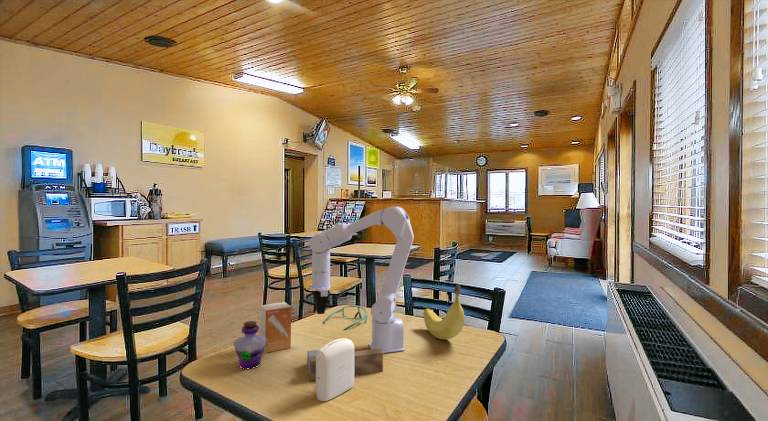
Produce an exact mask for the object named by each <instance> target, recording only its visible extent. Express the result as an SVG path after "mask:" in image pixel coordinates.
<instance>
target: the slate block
mask: <svg viewBox="0 0 768 421" xmlns="http://www.w3.org/2000/svg"><path fill="white" fill-rule="evenodd" d="M318 350H319V349H315V350H314V349H311V350H307V359H306V360H307V368H308V372H309V373H310V357H311V356H316V353H317V351H318Z"/></svg>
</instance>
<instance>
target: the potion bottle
mask: <svg viewBox="0 0 768 421" xmlns="http://www.w3.org/2000/svg"><path fill="white" fill-rule="evenodd" d="M258 332H260V325H257V321H256V320H249V321H245V322H243V326H242V327H241V333H242V334H244V336H241V337H238V338H237V339H236V340H234V341H233V345H234V350H235V354H236V355H237V358H238V363H239V366H241V367H242V368H241V369H242V370H252V368H253V367H256V366H258V365H259V364H260V363H261V362H262V357H263V352H264V351H263V350H264V348H265V343H266V339H267V338H265V337H263V336H261V335H260V334H257V333H258ZM260 365H261V364H260ZM260 365H259V366H260ZM243 368H244V369H243ZM247 368H249V369H247ZM256 368H257V367H256ZM253 369H254V368H253Z"/></svg>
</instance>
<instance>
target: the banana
mask: <svg viewBox="0 0 768 421" xmlns="http://www.w3.org/2000/svg"><path fill="white" fill-rule="evenodd" d="M453 292H454V294H455V297H454V301H453V303H452V304H451V305H450V307H449V308H448V309H447V311H446V314H445V315H444V317H443V318H441V317H440V316H439V315H437V314H436V313H435V312H434V311H433V310H432V309H430V308H425V309H424V311H423V315H422V316H423V320H424V324H425V327H426V329H427V330H428V332H429V333H430V334H431V335H432V336H433V337H434V338H436V339H439V340H451V339H454V338H455V337H457V336H458V335H459V334H460V333H461V332H462V331H463V328H464V326H465V312H464V308H463V307H462V305H461V302H460V299H459V295H460V293H461V285H459V284H457V285H455V287H454V289H453Z"/></svg>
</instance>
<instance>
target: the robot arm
mask: <svg viewBox="0 0 768 421" xmlns="http://www.w3.org/2000/svg"><path fill="white" fill-rule="evenodd" d="M375 225H377V226H385V227H386V228H387V229H389V230H390V231H391V232H392V234H393V235H394V237H395V239H396V242H395V246H394V249H393V251H392V255H391V259H390V262H389V265H388V269H387V272H386V275H385V277H384V281H383V283H382V284H383V285H382V288H381V290H380V292H379V295H378V296H377V299H376V302H374V303H373V305H372V306H371V309H370V314H371V317H372V319H371V322H372V323H371V326H372V327H371V342H368V343H367V345H368V347H369V348H370V350H372V349H380V350H381V351H382V352H383V354H385V353H395V352H403V351H405V348H404V339H405V338H404V334H405V333H404V332H405V330H404V323H403V321H402V319H401V318H400V317H396V316H395V314H394V312H395V311H396V308H397V302H396V299H397V294H398V289H399V287H400V283H401V280H402V277H403V274H404V271H405V267H406V265H407V262H408V258H409V254H410V252H411V249H412V246H413V242H414V240H415V239H414V238H415V235H414V231H413V228H412V225H411V220H410V216H409V214H408V213H407V212H406V210H405V209H404V208H403V207H401V206H397V205H396V206H389V207H386V208H385V209H379V210H376V211H373V212H371V213H370V214H368V215H365V216H363V217H362V218H359V219H358V220H355V221H353V222H352V223H349V224H347V223H345V222H342V223H340V222H337V223H335V226H333V227H331V228H329V229H324V230H322V233H316V234H314V235H313V236H312V237H311V238H310V240H309V248H310V249H311V252H312V254H311V256H312V257H311V284H308V285H307V286H308V287H307V288H308V289H313V290H312V291H311V294H312V296H313V298H314V303H315V308H316V309H315V310H316V314H317V315H325V314H326V313H325V312H326V309H327V303H328V300H329V298H330V297H331V295H332V294H331V290H330V289H331V287H332V286H331V249H332V248H335V247H337V246H339V245H341V244H344V243H346V242H348V241H350V240H351V239H352V238H353V237H352V236H353V234H356V233H358V232H360V231H362V230H365V229H367V228H369V227H372V226H375Z"/></svg>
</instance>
